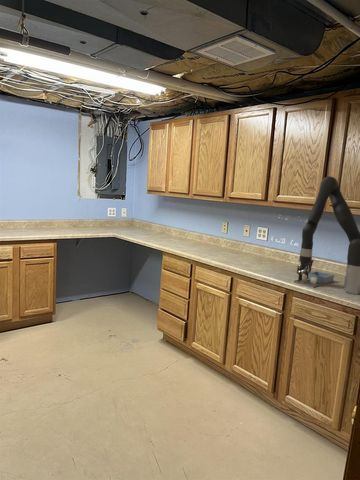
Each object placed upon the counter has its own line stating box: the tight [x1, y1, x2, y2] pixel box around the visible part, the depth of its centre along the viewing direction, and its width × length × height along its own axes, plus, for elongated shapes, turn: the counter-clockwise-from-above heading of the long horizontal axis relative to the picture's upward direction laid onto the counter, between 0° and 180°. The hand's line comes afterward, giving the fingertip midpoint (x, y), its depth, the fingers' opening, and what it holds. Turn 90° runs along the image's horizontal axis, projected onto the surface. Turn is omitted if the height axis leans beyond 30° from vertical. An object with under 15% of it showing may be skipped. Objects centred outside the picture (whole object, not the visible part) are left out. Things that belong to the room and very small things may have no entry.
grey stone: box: [310, 277, 317, 285], centre depth 236 cm, size 4×4×5 cm
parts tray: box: [293, 279, 324, 289], centre depth 239 cm, size 14×12×2 cm
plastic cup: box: [299, 256, 316, 274], centre depth 269 cm, size 11×11×12 cm
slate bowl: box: [308, 270, 335, 284], centre depth 250 cm, size 13×13×4 cm
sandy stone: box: [300, 274, 307, 283], centre depth 241 cm, size 4×4×5 cm
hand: (303, 279), depth 241 cm, fingers open, 7 cm apart
